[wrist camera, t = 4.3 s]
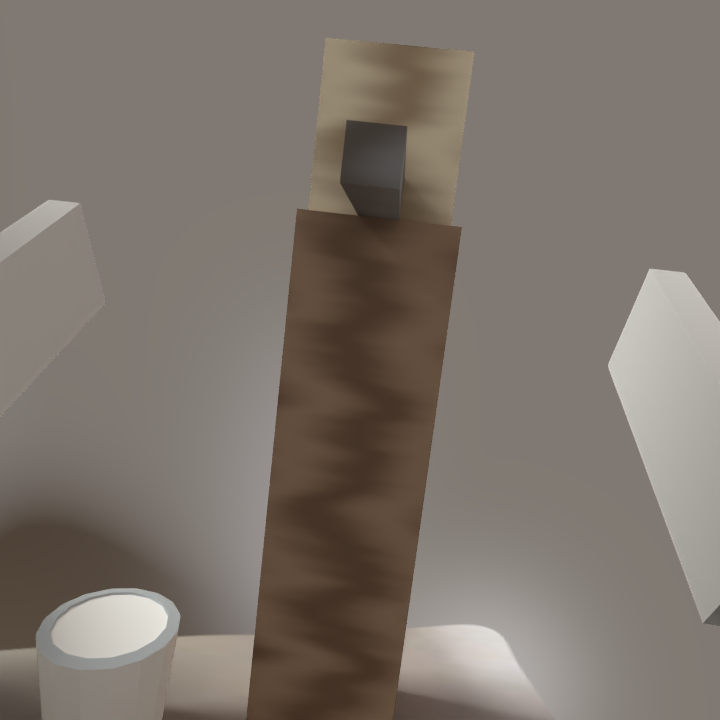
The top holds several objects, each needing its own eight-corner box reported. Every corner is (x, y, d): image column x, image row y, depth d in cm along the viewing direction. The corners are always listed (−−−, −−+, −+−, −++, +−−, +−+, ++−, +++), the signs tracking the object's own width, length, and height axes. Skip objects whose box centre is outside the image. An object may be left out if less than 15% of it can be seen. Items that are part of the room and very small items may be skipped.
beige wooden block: (265, 174, 19) (289, -87, 18) (323, 223, 33) (338, 80, 32) (475, 197, 18) (512, -69, 17) (442, 236, 32) (461, 92, 31)
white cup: (146, 806, 27) (156, 674, 26) (-1, 795, 26) (4, 661, 25) (186, 699, 33) (195, 591, 32) (70, 690, 33) (76, 580, 32)
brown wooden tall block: (244, 740, 31) (297, 208, 27) (268, 669, 37) (314, 222, 33) (386, 763, 31) (461, 227, 27) (388, 688, 36) (450, 237, 32)
